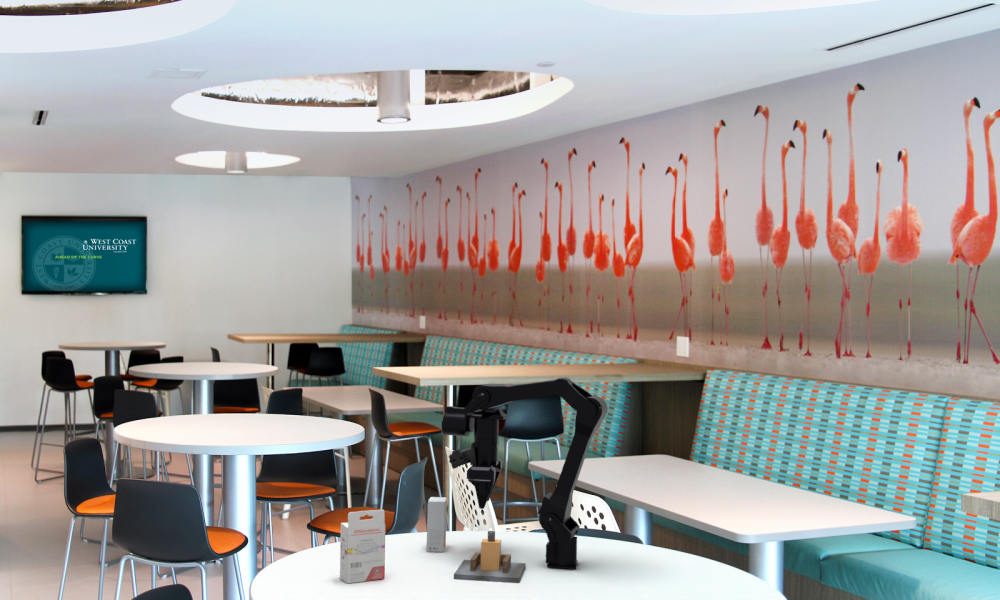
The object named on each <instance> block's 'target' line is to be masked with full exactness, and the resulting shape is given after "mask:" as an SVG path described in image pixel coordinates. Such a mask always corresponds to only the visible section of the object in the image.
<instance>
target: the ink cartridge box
mask: <svg viewBox="0 0 1000 600" xmlns="http://www.w3.org/2000/svg"><path fill="white" fill-rule="evenodd" d="M366 516H368V517H371V518H368V519H367V518H365V519H361V518H362V517H366ZM385 521H386V520H385V510H384V509H370V510H359V511H349V512H348V514H347V522H340V542H339V543H340V544H339V545H340V547H339V550H340V551H339V553H340V554H339V555H340V557H339V558H340V559H339V578H340V579H341V580H342V581H343V582H345V584H352V583H353V584H355V583H356V584H357V583H362V582H371V581H378V580H384V579H385V576H386V571H385V570H386V523H385Z"/></svg>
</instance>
